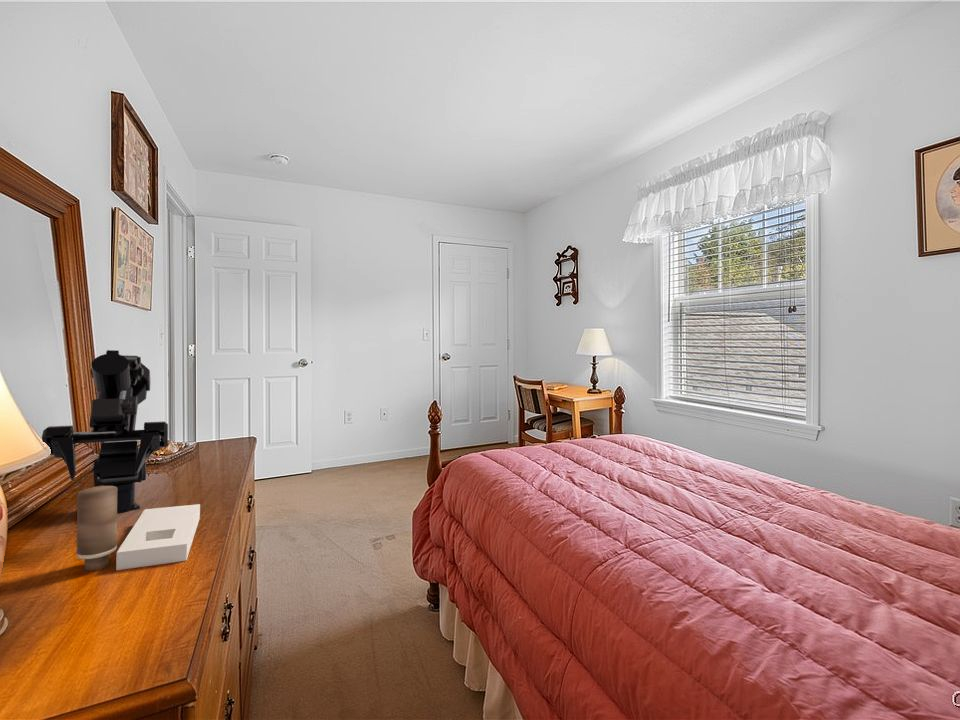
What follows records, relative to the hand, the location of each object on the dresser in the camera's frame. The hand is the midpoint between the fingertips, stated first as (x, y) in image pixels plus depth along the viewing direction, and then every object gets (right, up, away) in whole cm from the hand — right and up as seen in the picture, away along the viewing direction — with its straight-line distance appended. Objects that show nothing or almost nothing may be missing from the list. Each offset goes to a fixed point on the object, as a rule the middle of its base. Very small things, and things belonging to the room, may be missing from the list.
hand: (105, 475), depth 86 cm
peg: (+4, -14, -6) cm, 16 cm away
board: (+8, -14, +5) cm, 16 cm away
